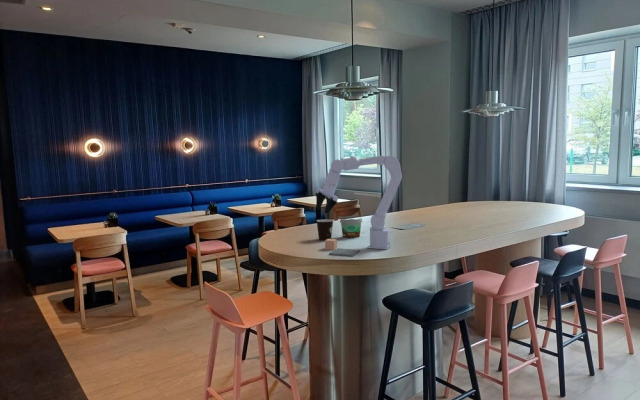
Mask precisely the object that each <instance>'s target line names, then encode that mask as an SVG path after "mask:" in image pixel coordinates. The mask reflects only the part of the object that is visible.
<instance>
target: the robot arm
mask: <svg viewBox="0 0 640 400" xmlns="http://www.w3.org/2000/svg"><path fill="white" fill-rule="evenodd" d="M399 161H400V160H398V158H397V157H396V156H394V155H388V156H387V155H377V156H371V157H370V156H369V157H365V158H358V157H357V156H354V155H352V156H351V155H350V157H347V158H343V157H341V158H340V159H335V160H332V161H331V163H330V169H329V172H328V173H327V177H326V180H325V183H324V186H323V188H320V187H319V188H318V189H317V191H316V193H315V197H316V203H315V208H316V209H318V210H320V209H321V208H322V205H323V203H324V202H325V199H326V203H325V208H324V213H325V214H330V212H331V210H332V209H333V208H334V207H335V206H336V205H337V204H338V199H339V197H338V196H337V195H335V192H336V190H337V185H338V183H339V181H340V176H341V172H342V171H344V172H346V171H354V170H358V169H359V167H361V166H367V165H368V166H369V165H375V164H377V165H379V166H381V167H382V166H384V168H386V169H387V171H388V172H389V173H388V174H389V175H390V180H389V182H388V184H387V186H386V189H385V191H384V193H383V196H382V198H381V200H380V203H379V204H378V207H377V209H376V211H375V212H374V213H373V214H372V216H371V217H370V227H369V246H366V247H367V249H375V250H376V249H377V250H388V249H389V248H390V247H391V230H390V229H386V227H385V223H386V221H385V220H386V216H387V212H388V211H389V208H390V206H391V204H392V202H393V199H394V198H395V195H396V193H397V191H398V188H399V186H400V183H401V181H402V179H403V174H402V169H401V163H400V162H399Z"/></svg>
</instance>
